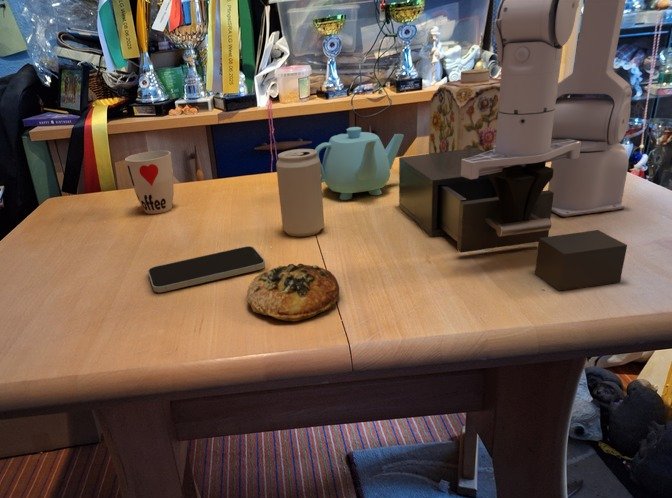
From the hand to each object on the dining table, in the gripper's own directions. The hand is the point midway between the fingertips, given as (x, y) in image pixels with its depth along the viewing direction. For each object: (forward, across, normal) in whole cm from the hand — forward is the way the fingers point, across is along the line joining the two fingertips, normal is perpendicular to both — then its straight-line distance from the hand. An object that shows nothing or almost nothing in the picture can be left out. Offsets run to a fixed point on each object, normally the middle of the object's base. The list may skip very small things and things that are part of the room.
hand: (514, 227), depth 67 cm
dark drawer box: (+3, -1, -6) cm, 7 cm away
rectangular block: (+4, -3, +8) cm, 9 cm away
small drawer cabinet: (+4, -4, -18) cm, 18 cm away
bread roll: (+4, +28, -3) cm, 28 cm away
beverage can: (+4, +19, -24) cm, 31 cm away
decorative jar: (+4, -20, -37) cm, 42 cm away
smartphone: (+4, +36, -16) cm, 39 cm away
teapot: (+4, +2, -38) cm, 39 cm away
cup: (+4, +38, -50) cm, 63 cm away
